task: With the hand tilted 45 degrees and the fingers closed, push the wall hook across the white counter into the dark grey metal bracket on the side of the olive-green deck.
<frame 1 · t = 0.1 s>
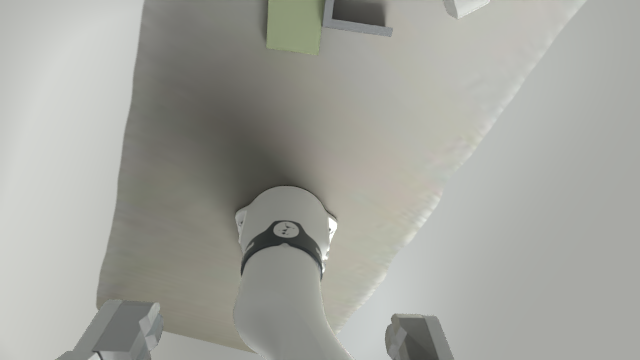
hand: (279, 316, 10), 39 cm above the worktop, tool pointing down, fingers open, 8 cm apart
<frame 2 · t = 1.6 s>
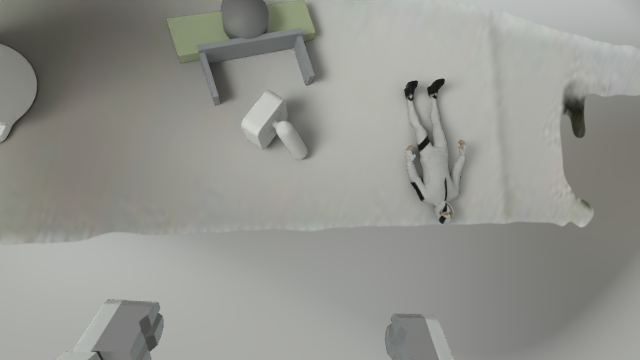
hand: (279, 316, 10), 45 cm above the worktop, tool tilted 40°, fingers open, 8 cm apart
wall hook: (278, 138, 57), on the worktop
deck: (252, 55, 57), on the worktop
figurine: (425, 155, 65), on the worktop
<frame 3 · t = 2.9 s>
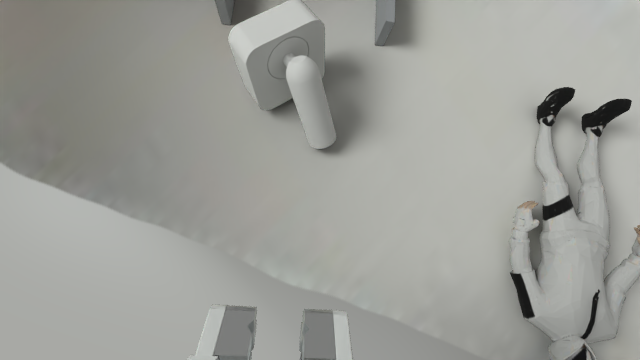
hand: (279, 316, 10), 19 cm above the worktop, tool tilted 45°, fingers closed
wall hook: (297, 107, 33), on the worktop
figurine: (549, 232, 34), on the worktop
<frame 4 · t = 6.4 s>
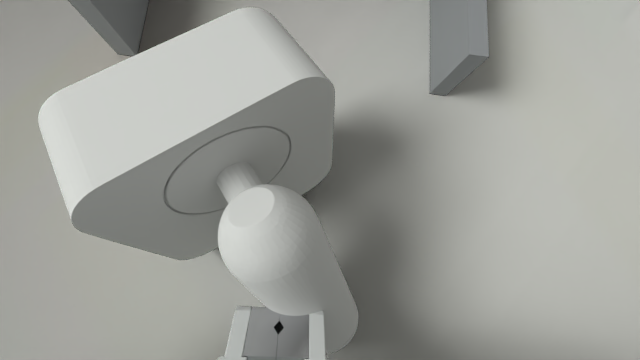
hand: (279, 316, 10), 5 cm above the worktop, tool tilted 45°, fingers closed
wall hook: (274, 231, 16), on the worktop, touching gripper
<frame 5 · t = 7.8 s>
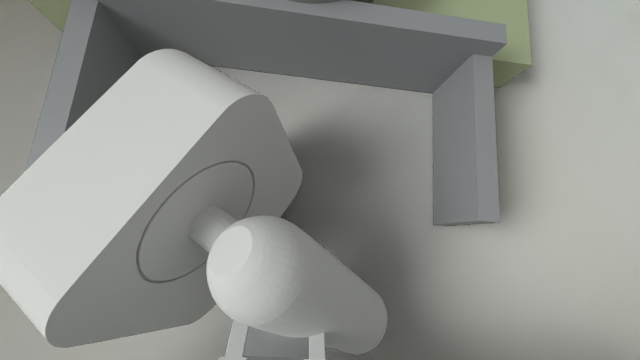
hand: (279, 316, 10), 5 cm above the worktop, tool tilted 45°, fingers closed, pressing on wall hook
wall hook: (273, 255, 15), on the worktop, touching gripper
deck: (294, 75, 17), on the worktop
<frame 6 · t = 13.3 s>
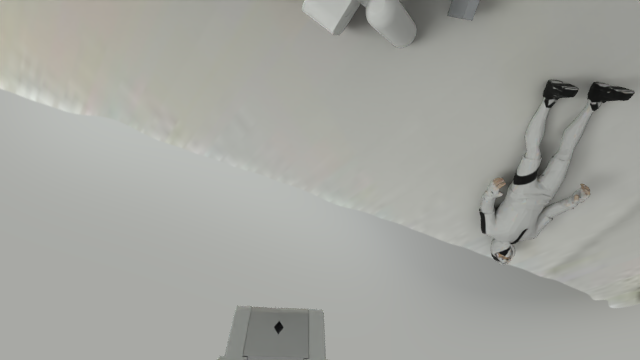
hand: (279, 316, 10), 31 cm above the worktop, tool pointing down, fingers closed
wall hook: (367, 4, 32), on the worktop
figurine: (520, 177, 46), on the worktop
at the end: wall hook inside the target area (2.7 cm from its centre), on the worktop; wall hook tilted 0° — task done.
